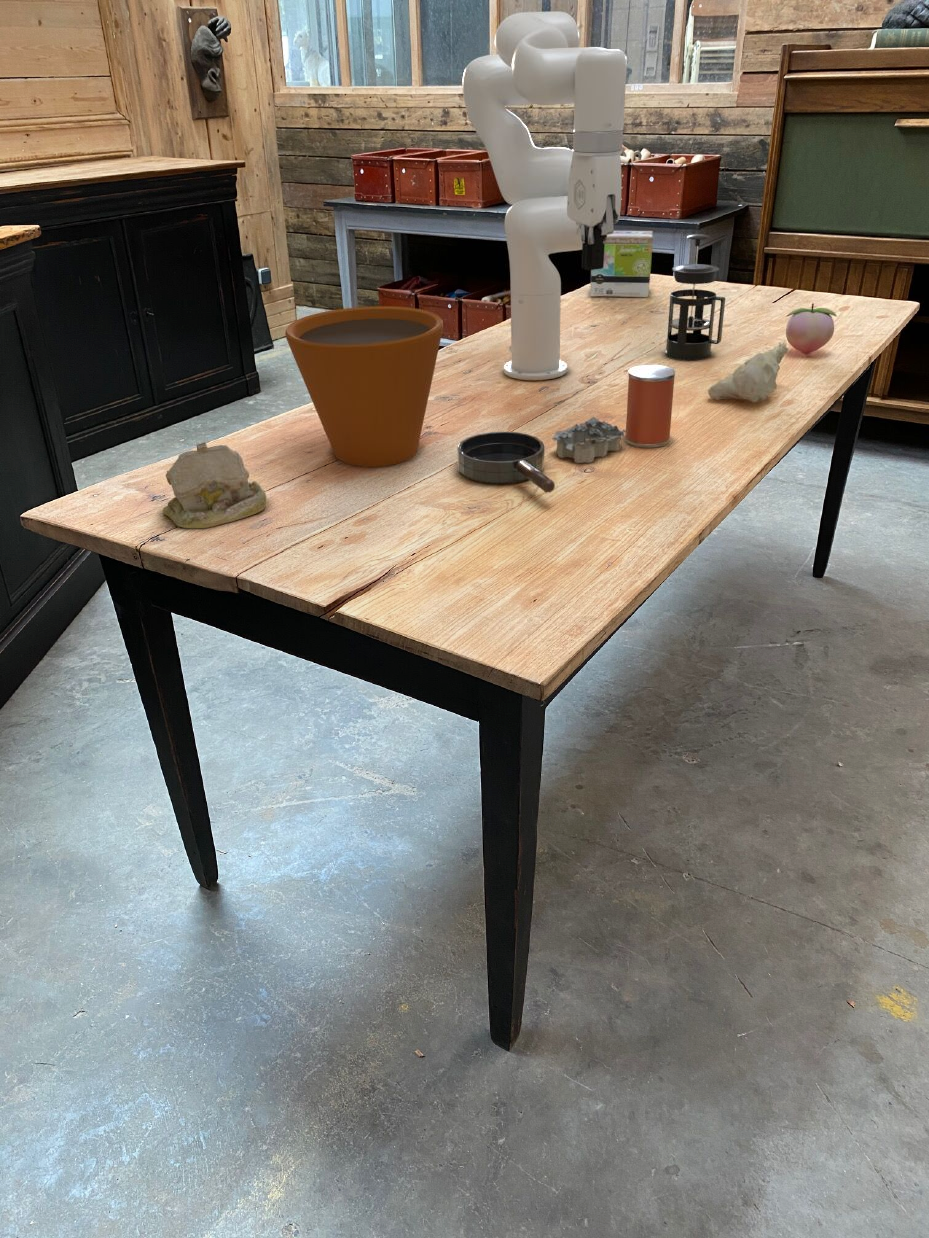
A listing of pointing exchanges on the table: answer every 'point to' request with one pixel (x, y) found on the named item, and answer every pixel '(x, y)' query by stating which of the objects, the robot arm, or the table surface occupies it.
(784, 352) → the holed limestone rock
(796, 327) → the decorative fruit
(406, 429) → the flower pot
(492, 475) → the black pan
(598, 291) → the tea box
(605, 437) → the egg carton
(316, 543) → the table surface
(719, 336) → the french press
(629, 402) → the tin can
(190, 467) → the ceramic model
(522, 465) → the pan handle
